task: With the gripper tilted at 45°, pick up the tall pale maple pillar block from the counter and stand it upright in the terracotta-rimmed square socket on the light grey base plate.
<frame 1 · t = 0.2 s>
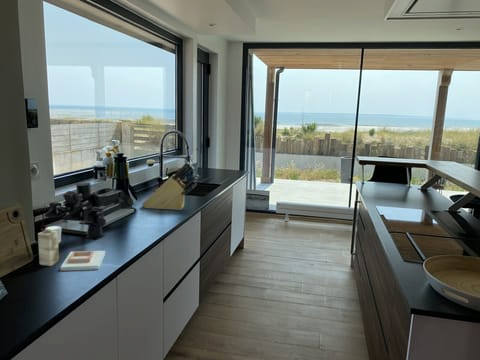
hand: (53, 217, 154), 17 cm above the worktop, tool horizontal, fingers open, 9 cm apart
base plate: (81, 261, 151), on the worktop
knife block: (170, 208, 241), on the worktop
maple pillar: (49, 262, 149), on the worktop
white cup: (53, 242, 171), on the worktop
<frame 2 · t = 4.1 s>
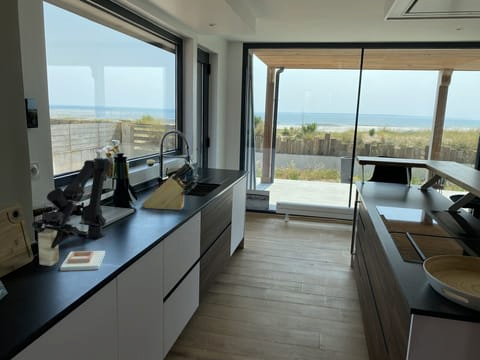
hand: (46, 247, 146), 7 cm above the worktop, tool tilted 45°, fingers closed on maple pillar, 5 cm apart
maple pillar: (49, 262, 149), on the worktop, touching gripper
everything else where it was.
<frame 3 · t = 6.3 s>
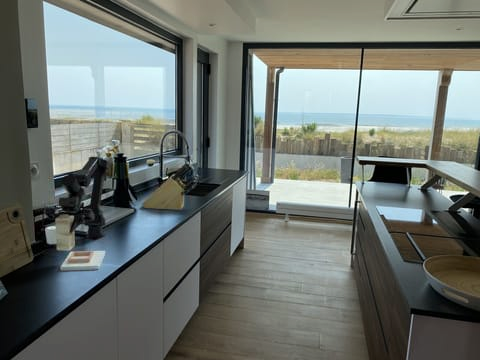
hand: (63, 232, 146), 13 cm above the worktop, tool tilted 45°, fingers closed on maple pillar, 5 cm apart
maple pillar: (66, 248, 148), point 6 cm above the worktop, touching gripper
everything else where it was.
when the fingers open (9 cm above the worktop, at t = 8.5 s): maple pillar stays where it is, resting on base plate.
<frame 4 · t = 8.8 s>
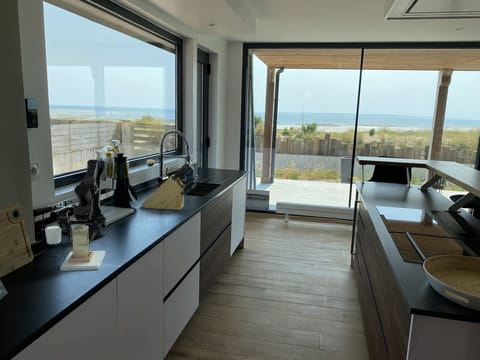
hand: (80, 241, 148), 10 cm above the worktop, tool tilted 45°, fingers open, 8 cm apart
maple pillar: (81, 258, 151), point 1 cm above the worktop, touching base plate
everything else where it was.
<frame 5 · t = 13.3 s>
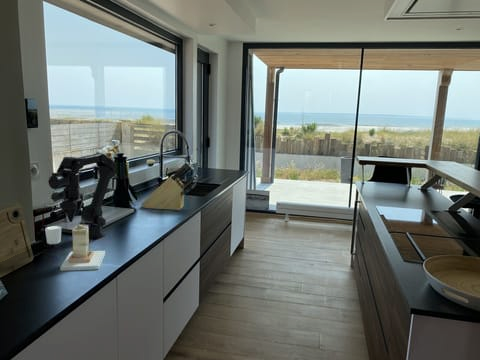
hand: (73, 218, 165), 13 cm above the worktop, tool pointing down, fingers open, 9 cm apart
nothing on the worktop moved.
at the end: maple pillar 0.0 cm off-centre on the base plate, point 1.5 cm above the base plate's base; maple pillar tilted 0°; the gripper is holding nothing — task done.
